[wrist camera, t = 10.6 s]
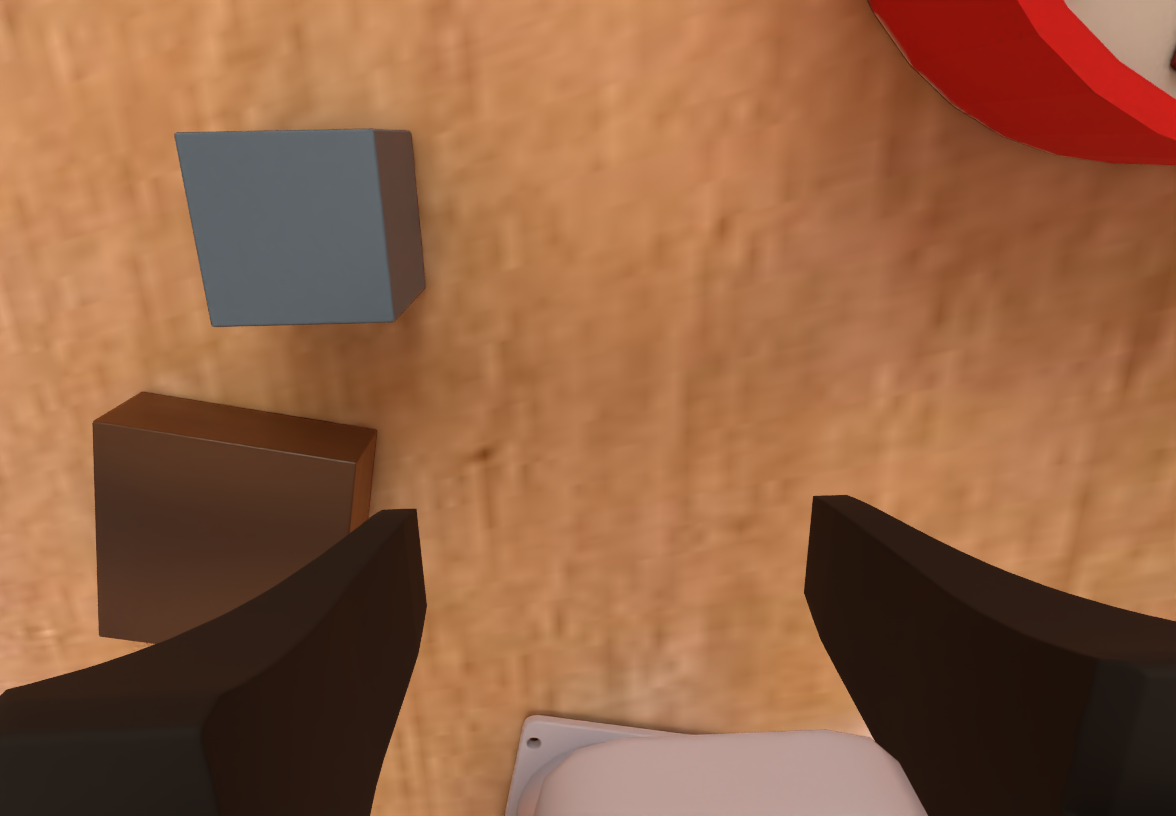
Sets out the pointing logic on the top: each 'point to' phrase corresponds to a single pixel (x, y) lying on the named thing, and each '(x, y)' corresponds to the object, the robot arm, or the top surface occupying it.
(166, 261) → the top surface
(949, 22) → the toy clock
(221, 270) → the grey cube
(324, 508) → the walnut tile
